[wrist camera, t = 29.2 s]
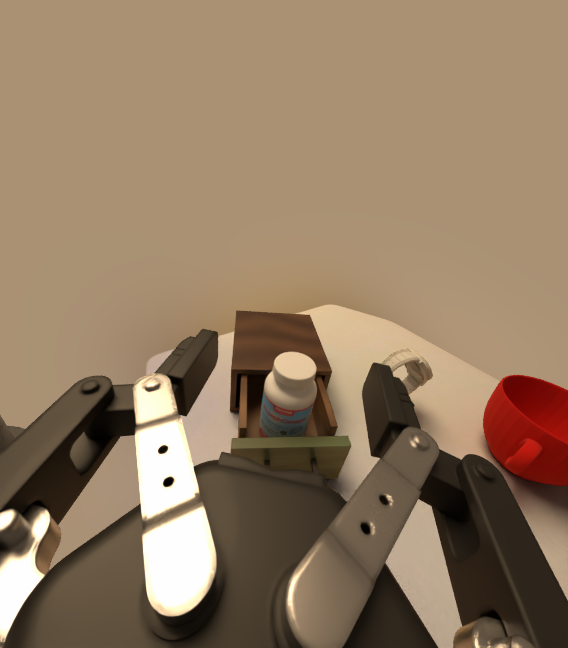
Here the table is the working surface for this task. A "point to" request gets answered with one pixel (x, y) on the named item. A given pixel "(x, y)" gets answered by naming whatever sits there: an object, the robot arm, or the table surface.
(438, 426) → the table surface
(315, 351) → the cabinet
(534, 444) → the ceramic cup
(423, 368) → the watch
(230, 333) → the table surface
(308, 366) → the pill bottle
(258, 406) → the drawer
